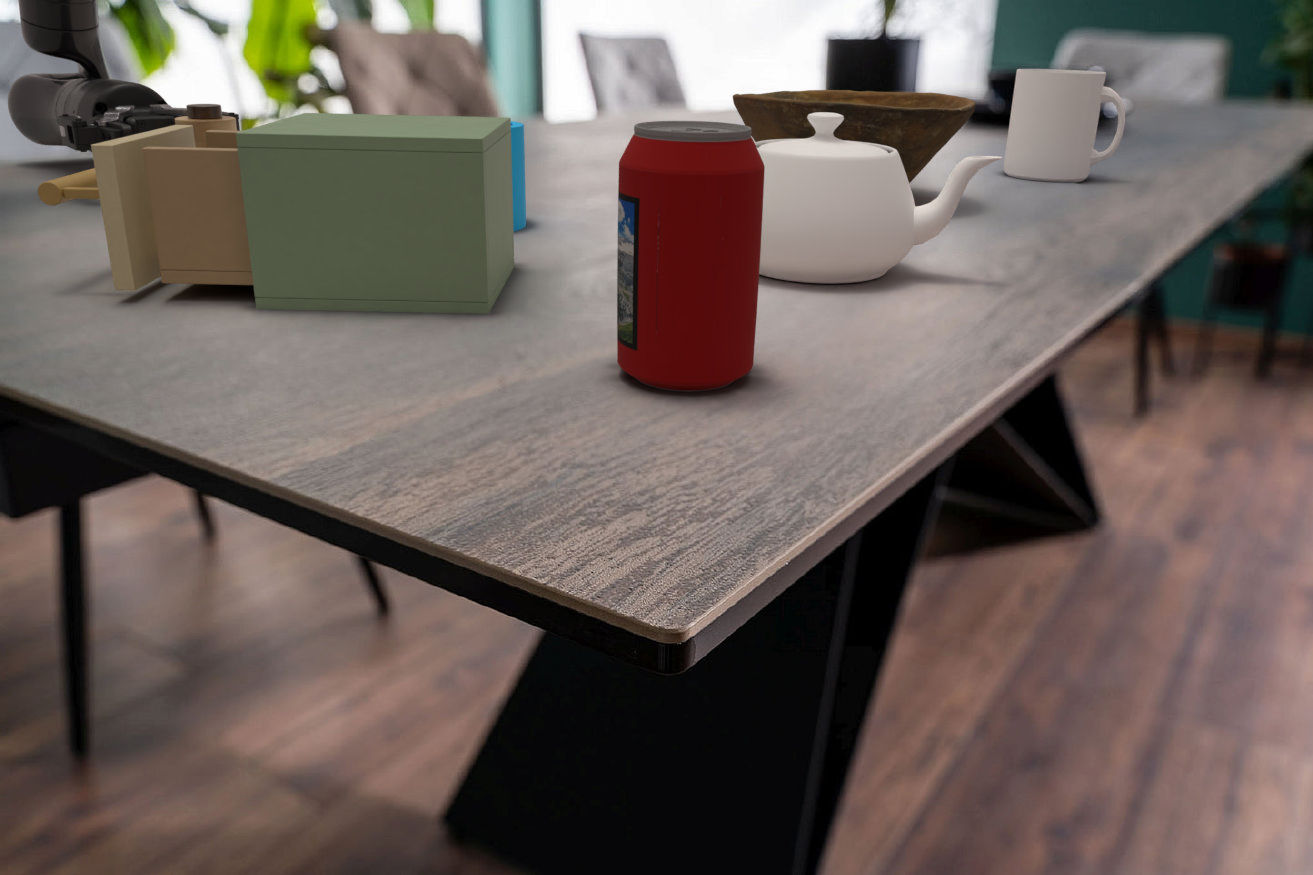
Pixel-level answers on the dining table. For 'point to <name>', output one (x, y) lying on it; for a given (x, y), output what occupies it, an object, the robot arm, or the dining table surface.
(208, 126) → the pepper mill
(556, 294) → the dining table surface
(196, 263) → the drawer
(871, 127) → the bowl
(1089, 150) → the mug
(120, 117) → the robot arm
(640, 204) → the beverage can
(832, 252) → the teapot
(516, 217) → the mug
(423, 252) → the cabinet
